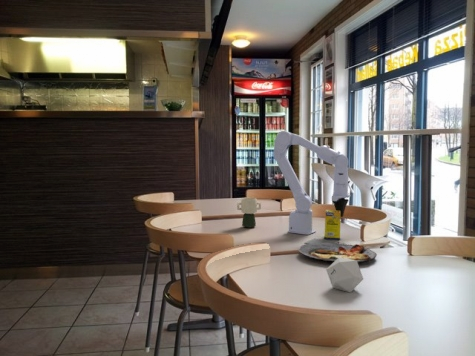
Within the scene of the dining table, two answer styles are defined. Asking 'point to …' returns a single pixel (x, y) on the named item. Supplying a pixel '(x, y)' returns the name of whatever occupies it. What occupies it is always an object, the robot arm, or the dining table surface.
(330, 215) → the supplement box
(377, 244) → the dining table surface
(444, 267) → the dining table surface
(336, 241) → the mat
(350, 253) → the food plate
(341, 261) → the die
